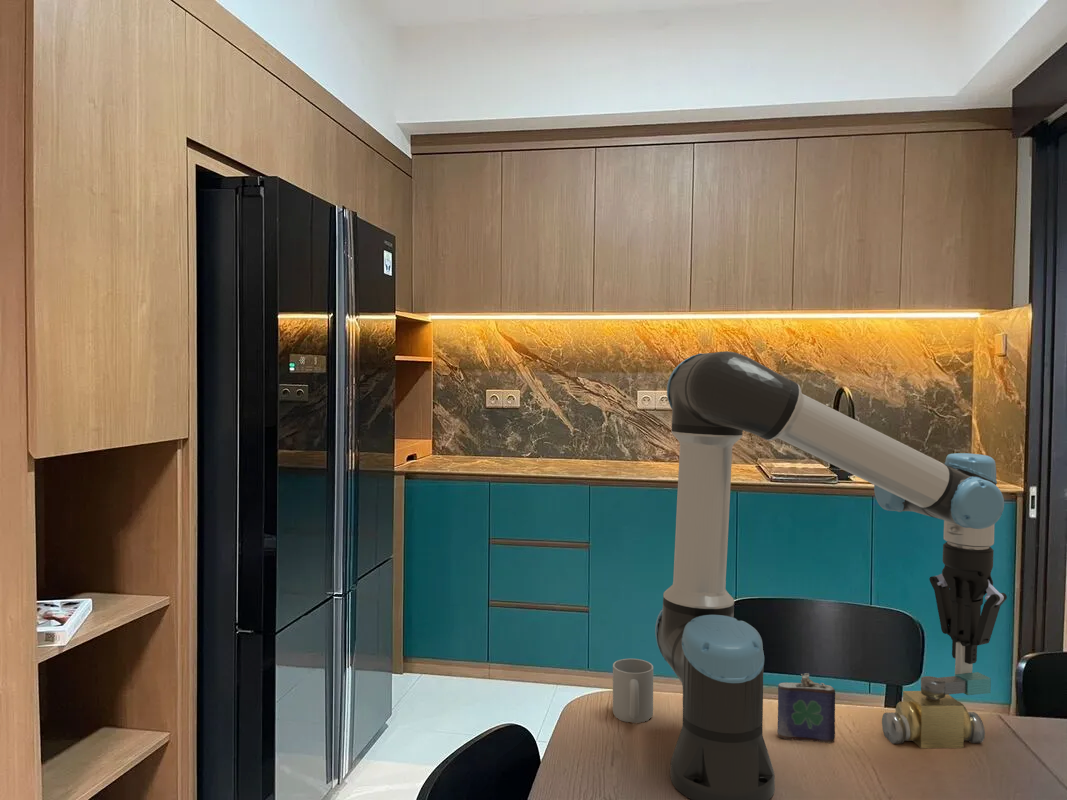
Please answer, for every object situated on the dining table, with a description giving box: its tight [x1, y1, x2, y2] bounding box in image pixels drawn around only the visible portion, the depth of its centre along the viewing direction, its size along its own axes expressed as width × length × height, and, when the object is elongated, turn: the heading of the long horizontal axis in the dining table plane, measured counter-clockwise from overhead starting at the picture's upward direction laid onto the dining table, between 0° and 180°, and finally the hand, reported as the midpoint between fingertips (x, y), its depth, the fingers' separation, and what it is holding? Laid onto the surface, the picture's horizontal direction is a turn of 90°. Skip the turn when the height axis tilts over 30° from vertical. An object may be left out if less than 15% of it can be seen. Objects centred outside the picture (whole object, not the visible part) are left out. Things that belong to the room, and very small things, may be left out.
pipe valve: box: [881, 690, 986, 749], centre depth 127 cm, size 15×6×8 cm, turn 91°
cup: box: [612, 658, 654, 724], centre depth 136 cm, size 7×10×9 cm
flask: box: [777, 672, 836, 744], centre depth 128 cm, size 9×3×11 cm, turn 79°
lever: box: [920, 671, 992, 698], centre depth 128 cm, size 12×4×2 cm, turn 102°
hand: (963, 679), depth 131 cm, fingers closed
